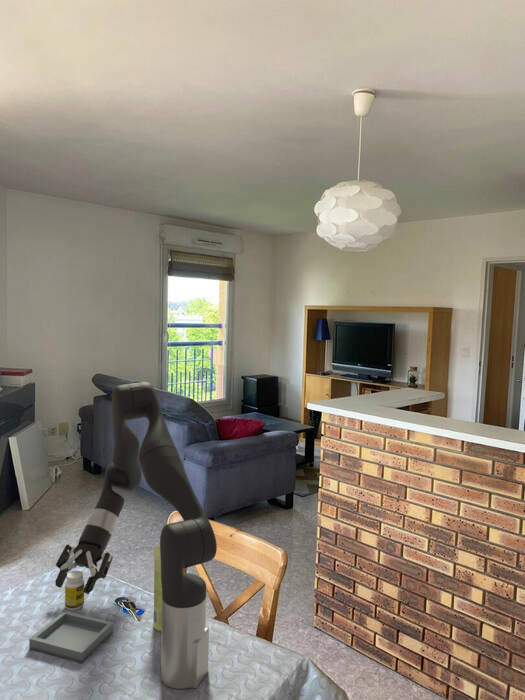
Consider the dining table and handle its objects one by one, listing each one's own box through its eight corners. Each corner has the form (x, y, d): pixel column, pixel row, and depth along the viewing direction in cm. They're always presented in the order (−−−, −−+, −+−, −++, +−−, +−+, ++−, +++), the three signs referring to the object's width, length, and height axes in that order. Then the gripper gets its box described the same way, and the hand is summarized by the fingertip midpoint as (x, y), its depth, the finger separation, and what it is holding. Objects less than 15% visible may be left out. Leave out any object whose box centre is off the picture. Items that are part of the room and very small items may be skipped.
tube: (175, 618, 133) (177, 543, 132) (177, 630, 128) (178, 552, 127) (152, 621, 132) (153, 544, 131) (153, 633, 127) (154, 554, 126)
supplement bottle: (77, 611, 135) (78, 579, 134) (61, 609, 136) (61, 577, 135) (87, 601, 140) (88, 570, 139) (71, 599, 141) (71, 568, 140)
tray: (113, 632, 127) (113, 622, 127) (81, 663, 115) (82, 652, 115) (64, 620, 131) (64, 610, 131) (29, 649, 120) (29, 638, 119)
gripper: (71, 519, 146) (41, 579, 136) (116, 527, 142) (89, 590, 131) (83, 531, 151) (55, 589, 141) (126, 539, 147) (101, 600, 137)
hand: (71, 589), depth 136 cm, fingers open, 8 cm apart
